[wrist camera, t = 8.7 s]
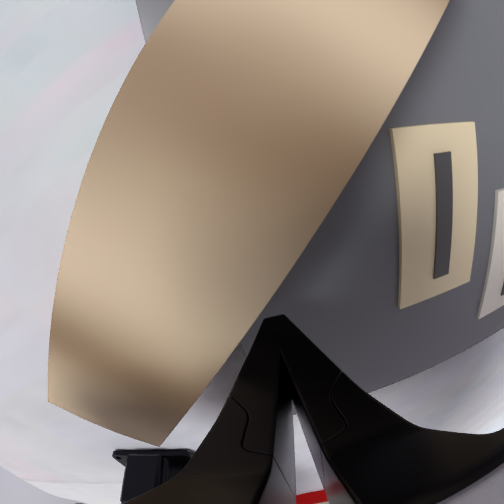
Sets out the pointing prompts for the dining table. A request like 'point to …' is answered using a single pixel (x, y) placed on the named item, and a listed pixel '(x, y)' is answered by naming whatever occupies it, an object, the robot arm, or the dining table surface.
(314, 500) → the kitchen timer
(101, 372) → the swing arm
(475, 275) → the label panel
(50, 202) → the dining table surface
